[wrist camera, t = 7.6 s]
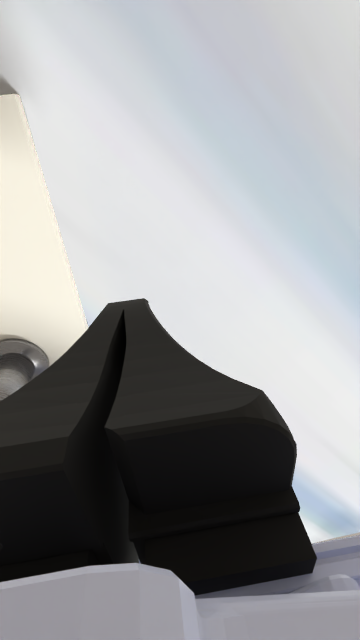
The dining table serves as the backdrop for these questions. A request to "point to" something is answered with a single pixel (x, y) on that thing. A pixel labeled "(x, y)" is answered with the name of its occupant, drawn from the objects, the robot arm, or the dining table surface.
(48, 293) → the board
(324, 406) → the dining table surface
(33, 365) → the hinge post
